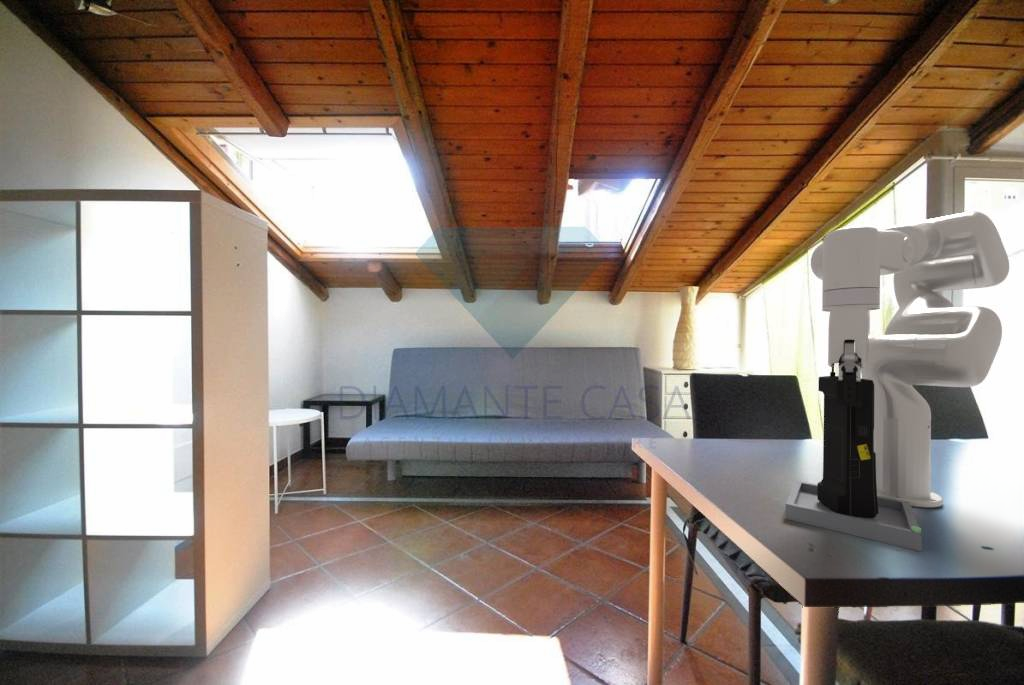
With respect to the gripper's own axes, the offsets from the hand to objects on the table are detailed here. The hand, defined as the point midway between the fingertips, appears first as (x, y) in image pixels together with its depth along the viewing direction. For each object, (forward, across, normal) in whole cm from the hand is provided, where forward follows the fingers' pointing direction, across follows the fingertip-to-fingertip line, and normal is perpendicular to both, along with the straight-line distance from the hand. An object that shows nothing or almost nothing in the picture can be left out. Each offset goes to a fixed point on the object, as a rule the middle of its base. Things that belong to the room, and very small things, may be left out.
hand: (849, 403), depth 68 cm
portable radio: (+19, 0, 0) cm, 19 cm away
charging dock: (+19, 0, 0) cm, 19 cm away
